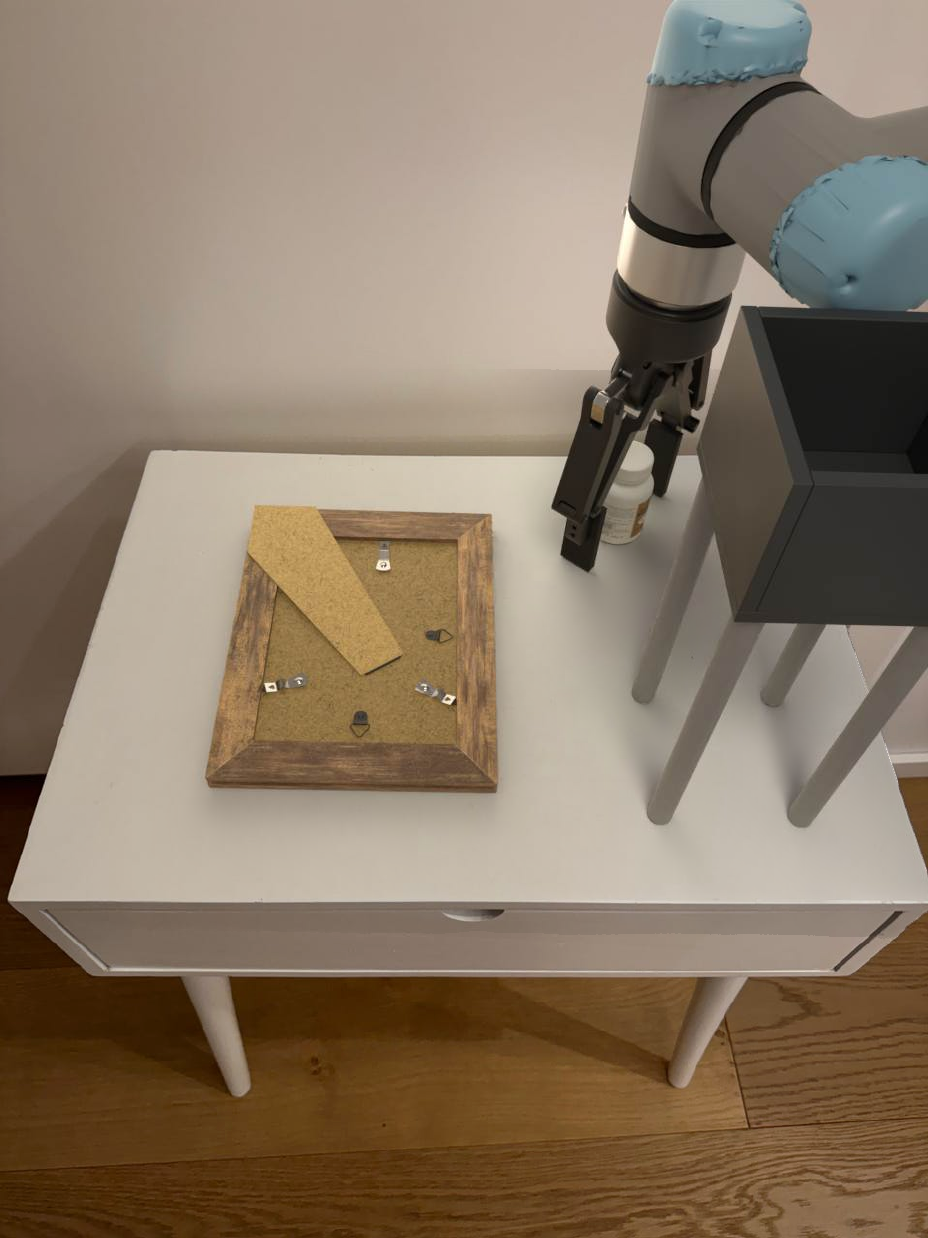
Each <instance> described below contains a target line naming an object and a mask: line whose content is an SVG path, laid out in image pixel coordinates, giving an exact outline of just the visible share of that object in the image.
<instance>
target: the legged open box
mask: <svg viewBox="0 0 928 1238" xmlns="http://www.w3.org/2000/svg"><path fill="white" fill-rule="evenodd" d="M718 374H719V375H718V377H717V382H716V384H715V387H714V391H713V394H712V397H711V400H710V403H709V407H708V410H707V414H706V416H705V419H704V423H703V426H702V430H701V432H700V436H699V439H698V442H697V445H696V454H697V459H698V463H699V468H700V472H701V478H700V482H699V484H698V486H697V487H698V488H697V490H696V493H695V497H694V500H693V502H692V506H691V509H690V511H689V515H688V518H687V521H686V524H685V527H684V529H683V534H682V536H681V539H680V542H679V545H678V549H677V552H676V555H675V558H674V561H673V564H672V567H671V571H670V573H669V576H668V579H667V583H666V585H665V589H664V592H663V595H662V597H661V601H660V604H659V607H658V610H657V612H656V616H655V619H654V622H653V625H652V628H651V631H650V635H649V638H648V640H647V643H646V644H647V645H646V647H645V650H644V653H643V656H642V659H641V662H640V665H639V668H638V672H637V674H636V677H635V681H634V683H633V686H632V688H631V689H632V690H631V696H632V698H633V699H634V700H635V701H636V702H637V703H639V704H643V705H647V704H650V703H651V702H653V700H655V698H656V697H655V696H656V694H657V692H658V689H659V685H660V682H661V680H662V677H663V675H664V671H665V669H666V666H667V663H668V661H669V658H670V655H671V654H672V653H671V652H672V650H673V648H674V644H675V642H676V639H677V636H678V634H679V631H680V628H681V626H682V622H683V620H684V617H685V614H686V611H687V609H688V606H689V603H690V601H691V597H692V595H693V592H694V589H695V586H696V585H697V581H698V578H699V575H700V573H701V570H702V567H703V564H704V562H705V559H706V556H707V553H708V550H709V548H710V545H711V542H712V540H713V537H714V535H715V541H716V545H717V550H718V554H719V560H720V565H721V569H722V573H723V578H724V582H725V587H726V591H727V596H728V602H729V606H730V610H731V611H730V615H729V617H728V619H727V622H726V625H725V626H724V629H723V631H722V634H721V636H720V638H719V640H718V643H717V645H716V647H715V650H714V652H713V655H712V657H711V659H710V661H709V663H708V664H709V665H708V666H707V669H706V671H705V674H704V676H703V678H702V680H701V683H700V685H699V687H698V690H697V692H696V694H695V697H694V699H693V701H692V704H691V706H690V709H689V711H688V713H687V716H686V717H685V721H684V722H683V724H682V727H681V729H680V732H679V734H678V737H677V738H676V741H675V743H674V746H673V748H672V750H671V753H670V755H669V758H668V760H667V763H666V764H665V767H664V769H663V771H662V774H661V777H660V778H659V781H658V784H657V786H656V788H655V790H654V793H653V795H652V797H651V800H650V802H649V805H648V807H647V809H646V814H647V817H648V820H650V822H652V823H653V824H654V825H656V826H664V825H665V826H666V825H667V824H669V823H670V822H671V820H672V819H673V816H674V814H675V812H676V810H677V808H678V806H679V804H680V802H681V799H682V797H683V795H684V793H685V792H686V789H687V787H688V785H689V783H690V781H691V779H692V776H693V774H694V773H695V770H696V768H697V766H698V764H699V762H700V760H701V758H702V755H703V754H704V752H705V749H706V747H707V745H708V744H709V741H710V739H711V737H712V735H713V733H714V731H715V728H716V726H717V724H718V722H719V720H720V718H721V716H722V714H723V712H724V710H725V708H726V706H727V703H728V701H729V699H730V697H731V696H732V693H733V691H734V689H735V687H736V685H737V682H738V680H739V678H740V677H741V675H742V672H743V671H744V668H745V666H746V664H747V662H748V660H749V657H750V655H751V653H752V652H753V649H754V647H755V645H756V643H757V641H758V639H759V637H760V634H761V633H762V630H763V628H764V626H765V624H786V625H787V624H789V625H790V624H791V625H792V624H793V625H795V627H794V628H793V630H792V633H791V635H790V636H789V638H788V640H787V642H786V644H785V645H784V648H783V650H782V651H781V653H780V656H779V657H778V659H777V661H776V663H775V664H774V667H773V668H772V670H771V673H770V674H769V676H768V678H767V680H766V682H765V684H764V686H763V688H762V690H761V692H760V698H761V700H762V701H763V703H764V704H766V705H768V706H770V707H779V706H781V705H782V704H783V703H784V701H785V699H786V697H787V696H788V694H789V692H790V691H791V689H792V687H793V685H794V683H795V681H796V680H797V678H798V676H799V674H800V673H801V671H802V669H803V667H804V666H805V664H806V662H807V660H808V658H809V656H810V655H811V653H812V651H813V649H814V647H816V644H817V642H818V641H819V639H820V637H821V635H822V634H823V632H824V630H825V628H826V626H827V625H828V626H829V625H830V626H831V625H832V626H835V625H836V626H868V627H869V626H870V627H871V626H872V627H874V626H875V627H876V626H877V627H910V628H911V627H913V628H912V629H911V630H910V632H909V633H908V634H907V636H906V638H905V639H904V641H903V642H902V644H901V645H900V646H899V648H898V650H897V651H896V652H895V653H894V655H893V656H892V658H891V660H890V661H889V662H888V664H887V665H886V667H885V668H884V670H883V671H882V673H881V674H880V676H879V677H878V678H877V680H876V682H875V683H874V684H873V686H872V687H871V689H870V691H868V693H867V694H866V696H865V697H864V699H863V700H862V701H861V703H860V705H859V706H858V708H857V709H856V710H855V712H854V714H853V715H852V716H851V717H850V719H849V721H848V722H847V723H846V725H845V727H844V728H843V729H842V731H841V733H840V734H839V735H838V737H837V738H836V739H835V741H834V743H833V744H832V745H831V747H830V748H829V750H828V751H827V753H826V755H824V757H823V759H822V760H821V762H820V763H819V765H818V766H817V767H816V768H815V771H813V773H812V775H811V776H810V777H809V778H808V780H807V782H806V784H805V785H804V786H803V788H802V789H801V791H800V792H799V794H798V795H797V796H796V798H795V799H794V800H793V802H792V804H791V805H790V806H789V808H788V810H787V819H788V820H789V822H790V823H791V824H792V825H793V826H795V827H797V828H800V829H804V828H808V827H810V825H812V823H813V822H814V820H816V818H817V817H818V816H819V814H820V813H821V811H822V810H823V808H824V807H825V806H826V805H827V803H828V802H829V800H830V799H831V798H832V796H833V795H834V794H835V792H837V790H838V789H839V787H840V786H841V785H842V784H843V782H844V780H845V779H846V778H847V776H848V775H849V774H850V773H851V771H852V770H853V768H854V767H855V766H856V765H857V763H858V762H859V761H860V760H861V758H862V756H863V755H864V753H865V752H866V751H867V749H869V747H870V746H871V744H872V743H873V742H874V740H875V739H876V738H877V736H878V735H879V734H880V732H881V731H882V729H884V727H885V725H886V724H887V723H888V722H889V720H890V719H891V718H892V716H893V715H894V714H895V712H896V711H897V710H898V708H899V707H900V706H901V704H902V703H903V702H904V701H905V699H906V698H907V696H908V695H909V694H910V693H911V692H912V689H913V688H914V687H915V685H916V684H917V683H918V682H919V680H920V679H921V677H922V676H923V675H924V674H925V672H926V671H927V670H928V311H913V310H912V311H911V310H907V311H884V310H855V309H826V308H810V307H795V306H768V305H767V306H764V305H763V306H762V305H760V306H757V305H740V307H739V310H738V312H737V317H736V320H735V322H734V327H733V329H732V332H731V335H730V339H729V343H728V345H727V349H726V352H725V355H724V358H723V363H722V365H721V369H720V371H719V373H718Z"/></svg>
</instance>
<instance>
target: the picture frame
mask: <svg viewBox="0 0 928 1238" xmlns="http://www.w3.org/2000/svg"><path fill="white" fill-rule="evenodd" d="M248 537H249V538H248V542H247V548H246V554H245V557H244V565H243V570H242V576H241V581H240V585H239V591H238V597H237V601H236V608H235V612H234V618H233V623H232V628H231V634H230V639H229V645H228V650H227V655H226V661H225V667H224V671H223V677H222V682H221V687H220V694H219V699H218V703H217V709H216V715H215V721H214V726H213V732H212V736H211V741H210V746H209V752H208V757H207V763H206V768H205V775H204V778H205V781H206V782H207V783H206V784H207V786H208V788H227V789H230V788H231V789H274V790H275V789H277V790H279V789H280V790H282V789H283V790H327V791H329V790H330V791H331V790H332V791H340V790H341V791H377V792H379V791H382V792H386V791H387V792H434V793H435V792H436V793H437V792H438V793H481V794H482V793H483V794H484V793H485V794H486V793H487V794H488V793H490V794H495V793H497V791H498V785H499V770H498V768H499V767H498V766H499V765H498V763H499V762H498V727H497V725H498V724H497V723H498V722H497V721H498V720H497V684H496V683H497V679H496V638H495V636H496V635H495V632H496V631H495V595H494V594H495V593H494V554H493V552H494V551H493V550H494V548H493V547H494V545H493V515H492V514H491V513H473V512H472V513H471V512H470V513H469V512H463V513H462V512H436V511H435V512H434V511H403V510H402V511H400V510H395V511H394V510H367V509H365V510H364V509H363V510H360V509H332V508H331V509H328V508H327V509H326V508H317V507H316V506H306V505H305V506H302V505H301V506H300V505H271V504H269V505H267V504H265V505H264V504H254V508H253V513H252V519H251V526H250V532H249V536H248Z"/></svg>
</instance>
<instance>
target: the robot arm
mask: <svg viewBox="0 0 928 1238" xmlns="http://www.w3.org/2000/svg"><path fill="white" fill-rule="evenodd" d="M812 25H813V24H812V22H811V20H810V18H809V16H808V14H807V9H806V8H805V6H804V5H802V4H801V3H800V2H799V1H798V0H673V1H672V2H671V4H670V6H669V7H668V8H667V10H666V12H665V14H664V17H663V21H662V25H661V28H660V34H659V38H658V41H657V45H656V49H655V53H654V57H653V61H652V65H651V70H650V71H649V73H648V74H647V76H646V84H647V86H646V92H645V97H644V98H645V99H644V103H643V109H642V116H641V121H640V127H639V133H638V139H637V145H636V149H635V157H634V163H633V168H632V174H631V179H630V186H629V192H628V193H629V194H628V200H627V202H626V204H625V205H623V206H624V207H623V208H622V209H621V216H622V218H623V219H624V221H623V227H622V231H621V237H620V243H619V247H618V253H617V259H616V267H617V268H616V269H615V271H614V273H613V276H612V281H611V287H610V291H609V296H608V301H607V307H606V313H605V324H606V328H607V331H608V333H609V335H610V337H611V339H612V340H613V342H614V344H615V346H616V348H617V350H618V354H617V356H616V358H615V360H614V362H613V365H612V366H611V370H610V377H609V379H610V380H609V382H608V384H607V386H605V388H603V389H600V388H598V387H597V386H594V385H590V386H589V387H588V388H587V389H586V390H585V393H584V395H583V398H582V404H581V411H580V418H579V422H578V424H577V427H576V430H575V433H574V436H573V440H572V443H571V445H570V448H569V451H568V453H567V454H568V455H567V457H566V461H565V464H564V467H563V470H562V472H561V476H560V477H559V478H560V479H559V481H558V485H557V487H556V491H555V493H554V496H553V500H552V502H551V506H550V508H551V510H553V511H554V512H555V513H557V514H559V515H560V516H563V517H564V518H565V527H564V532H563V537H562V543H561V546H560V547H561V548H560V553H559V555H560V556H561V557H563V558H564V559H566V560H568V561H569V562H571V563H572V564H574V565H576V566H577V567H579V568H581V569H583V570H584V571H586V572H587V573H589V572H590V571H591V570H592V569H593V568H594V567H595V563H596V559H597V555H598V550H599V546H600V542H601V540H600V538H601V533H602V529H603V525H604V520H605V516H606V512H607V508H606V507H604V506H603V503H604V501H605V499H606V497H607V495H608V493H609V490H610V488H611V486H612V484H613V482H614V480H615V478H616V476H617V473H618V471H619V469H620V467H621V465H622V463H623V461H624V459H625V457H626V454H627V452H628V450H629V448H630V446H631V444H632V442H633V440H634V439H635V437H636V436H637V434H638V432H642V431H645V430H646V429H647V430H646V434H645V436H644V437H645V438H644V442H643V444H645V445H646V446H647V447H649V448H650V450H651V451H652V452H653V455H654V463H653V467H652V471H651V474H652V477H653V480H654V487H653V491H652V494H654V495H656V496H658V497H659V498H663V497H664V496H665V494H667V491H668V488H669V484H670V480H671V479H672V478H671V477H672V474H673V471H674V468H675V465H676V461H677V458H678V454H679V450H680V447H681V443H682V440H683V437H684V433H683V432H682V430H684V431H686V432H688V433H690V434H694V433H695V432H696V431H697V429H698V427H699V426H700V423H701V420H700V419H699V418H697V417H695V416H693V415H692V412H693V410H694V411H696V412H699V411H701V409H702V408H703V407H704V405H705V403H706V402H705V401H706V398H707V397H706V396H707V390H708V384H709V383H708V382H709V377H710V369H711V362H712V357H713V349H714V348H715V347H716V346H717V344H718V343H719V342H720V339H721V335H722V333H723V329H724V326H725V323H726V320H727V316H728V312H729V309H730V306H731V304H732V303H731V302H732V300H733V291H734V290H735V289H736V288H737V285H738V283H739V280H740V276H741V273H742V269H743V266H744V263H745V259H746V256H747V254H748V255H749V256H750V257H751V258H752V259H753V261H755V262H756V263H757V264H758V265H759V266H760V267H762V268H763V270H765V271H766V272H767V273H768V274H769V275H770V276H771V277H772V278H773V279H774V280H775V281H776V282H777V283H778V286H779V287H780V288H781V289H782V290H783V291H784V293H785V294H786V295H788V297H790V298H791V299H792V300H793V299H795V300H796V301H797V302H798V303H800V304H801V305H806V306H807V307H808V308H826V309H855V310H884V311H910V310H912V311H913V310H915V311H916V310H917V309H919V308H920V307H921V306H922V305H923V304H925V303H926V302H927V301H928V105H925V106H920V107H916V108H910V109H906V110H905V109H904V110H901V111H896V112H891V113H886V114H882V115H881V114H880V115H877V116H872V117H861V116H857V115H854V114H853V113H851V112H849V111H848V110H846V109H845V108H843V106H841V105H840V104H838V103H836V102H835V101H834V100H832V99H831V98H829V97H828V96H827V95H825V94H823V93H821V92H820V91H818V89H817V88H816V87H815V86H813V85H812V84H811V83H809V82H808V81H806V80H805V79H803V77H801V74H802V72H803V69H804V67H806V65H807V63H808V62H809V58H808V51H809V46H810V41H811V36H812V32H813V26H812ZM625 406H626V407H628V408H630V409H632V410H633V411H636V412H639V414H638V416H636V415H634V414H632V413H630V411H627V410H625ZM655 412H656V416H658V417H659V418H661V419H657V418H655V417H654V418H653V415H654V414H655ZM634 441H635V440H634Z"/></svg>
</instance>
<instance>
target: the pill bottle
mask: <svg viewBox="0 0 928 1238" xmlns="http://www.w3.org/2000/svg"><path fill="white" fill-rule="evenodd" d="M653 463H654V455H653V452H652V451H651V450H650V448H649V447H647V446H646V445H645V444H644V442H640V441H637V440H633V442H632V444H631V446H630V448H629V450H628V452H627V454H626V457H625V459H624V461H623V463H622V465H621V467H620V469H619V471H618V473H617V476H616V478H615V480H614V482H613V484H612V486H611V488H610V490H609V493H608V495H607V497H606V499H605V501H604V503H603V506H604V507H606V508H607V512H606V516H605V520H604V525H603V529H602V533H601V538H600V541H602V542H604V543H607V544H612V545H624V544H625V545H626V544H628V543H631V542H634V541H635V540H636V539H637V538H638V537H640V535H641V533H642V531H643V529H644V528H643V527H644V523H645V520H646V517H647V514H648V513H647V512H648V510H649V506H650V502H651V499H652V495H653V493H652V491H653V487H654V480H653V477H652V474H651V471H652V467H653Z"/></svg>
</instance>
